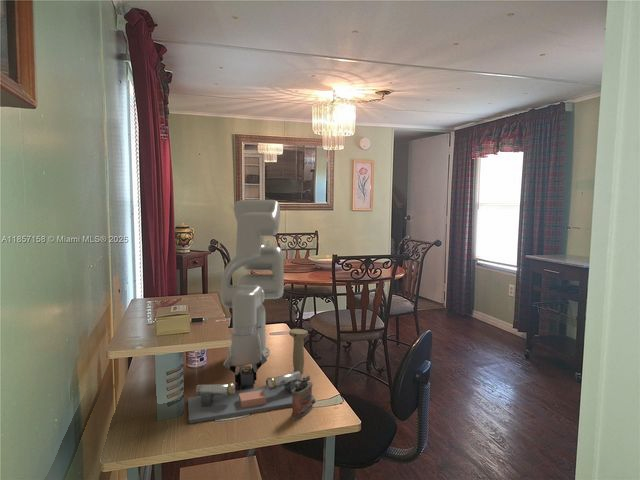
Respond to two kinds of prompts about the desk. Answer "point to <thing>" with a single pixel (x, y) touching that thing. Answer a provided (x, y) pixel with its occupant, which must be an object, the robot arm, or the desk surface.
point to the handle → (298, 348)
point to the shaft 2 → (284, 381)
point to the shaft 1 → (213, 392)
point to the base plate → (234, 405)
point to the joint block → (246, 378)
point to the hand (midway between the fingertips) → (245, 382)
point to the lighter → (302, 397)
